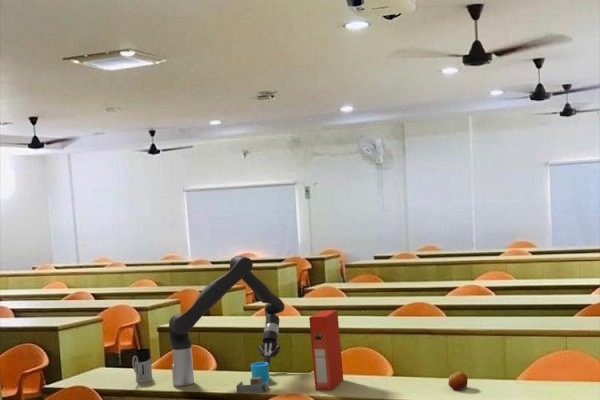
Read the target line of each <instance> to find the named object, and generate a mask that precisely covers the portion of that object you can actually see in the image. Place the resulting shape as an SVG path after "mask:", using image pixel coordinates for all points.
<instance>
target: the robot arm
mask: <svg viewBox="0 0 600 400" xmlns="http://www.w3.org/2000/svg"><path fill="white" fill-rule="evenodd" d="M253 265H254V264H253V260H252V259H251V258H249V257H247V256H243V255H233V257H232V258H230V261H229V268H230V269H229V271H228V272H227V273H225V274H224V275H222V276H220V277H217V279H215V280H213V281H211V282H210V283H209V284H208V285H206V286H205V288H203V290H201V292H200V293H199V294H198V295H197V297H196V299H195V301H194V303H193V304H192V305H191V306H190V307H189V308H188V309H187V310H186V311H185V312H183V313H182V314H181V313H175V314H174V315H172V316H171V317H170V319H169V321H168V331H169V333H168V334H169V340H170V341H169V342H170V344H171V351H172V362H173V364H171V373H172V385H173V386H177V387H184V386H189V385H190V386H191V385H192V384H194V383H195V375H194V365H193V363H194V362H193V348H192V347H193V346H192V341H191V339H190V336H189V332H190V331H191V330H192V329H193V328H194V326H195V325H196V324H197V323H198V321H200V319H201V318H202V317H203V316H204V315H205V314H206V313H207V312H208V311H209V310H211V309H212V308H213V307H214V306H215V305H216V304H217V303H218V302H219V301H220V300H221V299H222V298H223V297H224V296H225V295H226V294H227V293H228V292H229V291H230V290H231V289H232V288H234V286H235V285H236V284H237V283H238V282H240V281H241V280H242V281H243V283H245V284H246V285H247V286H248V288H249V289H250V290H251V291H252V292H253V293H254V295H255V296H256V297H257V298H258V300H259V302H261V303H263V304H265V305H264V313H265V325H264V329H263V335H262V342H261V344H260V345H259V346H257V347H256V349H257V352H258V353H259V354H260V355H261V358H263V359H264V360H263V362H267V363H268V366H269V365H270V364H271V359H272V358H275V357H276V356H277V355H278V354H279V353H280V352H281V351H282V347H281V345H279V344H278V340H279V333H280V332H279V331H280V330H279V329H280V328H279V327H280V317H279V316H278V314H281V313H282V312H284V310H285V303H284V302H283V300H282V299H281V298H280V297H278V296H277V295H275V294H273V293H272V292H271V291H270V289H269V288H268V287H267V286H266V285H265V283H263V282H262V280H260V279H259V278H258V277H257V276H256V275H255V274H254V273H253V272H252V270H253ZM263 351H264V352H263Z"/></svg>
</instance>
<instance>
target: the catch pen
mask: <svg viewBox="0 0 600 400" xmlns="http://www.w3.org/2000/svg"><path fill="white" fill-rule="evenodd" d="M243 383H244V382H243V381H240V382H239V383H238V384H236V386H235V387H236V393H265V392H267V390H268V389H269V387H270V385H269V382H268V381H266V382H265V383H262V384H261V385H251V384H243Z"/></svg>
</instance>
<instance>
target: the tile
mask: <svg viewBox="0 0 600 400" xmlns="http://www.w3.org/2000/svg"><path fill="white" fill-rule="evenodd" d="M249 382H250V385H262V383H261V377H252V376H251V378H250V380H249Z"/></svg>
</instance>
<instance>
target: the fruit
mask: <svg viewBox="0 0 600 400" xmlns="http://www.w3.org/2000/svg"><path fill="white" fill-rule="evenodd" d="M448 387H449V388H451V389H452V390H454V391H460V390H461V391H462V390H463V391H464V390H465V388H467V389H469V387H468V376H467V375H466V373H464V372H462V371H457V372H455V373H452V374H450V375H449V377H448Z"/></svg>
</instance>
